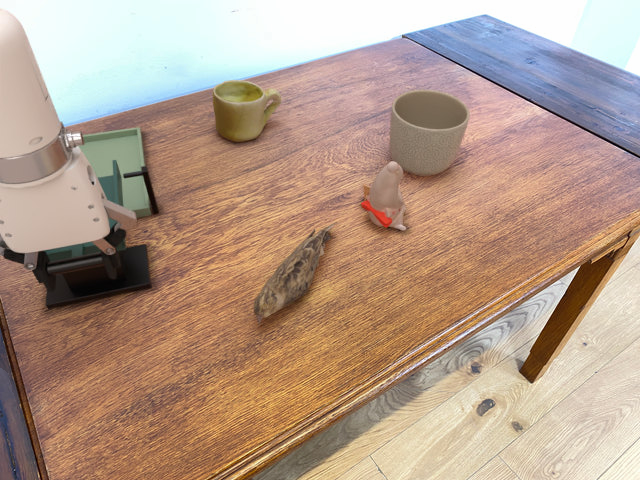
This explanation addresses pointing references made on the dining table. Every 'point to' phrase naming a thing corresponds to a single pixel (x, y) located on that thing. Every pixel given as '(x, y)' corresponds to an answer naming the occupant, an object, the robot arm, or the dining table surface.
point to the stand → (96, 279)
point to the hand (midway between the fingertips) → (82, 275)
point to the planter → (427, 130)
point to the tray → (120, 163)
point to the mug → (242, 109)
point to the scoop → (87, 252)
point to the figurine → (386, 198)
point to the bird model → (292, 275)
